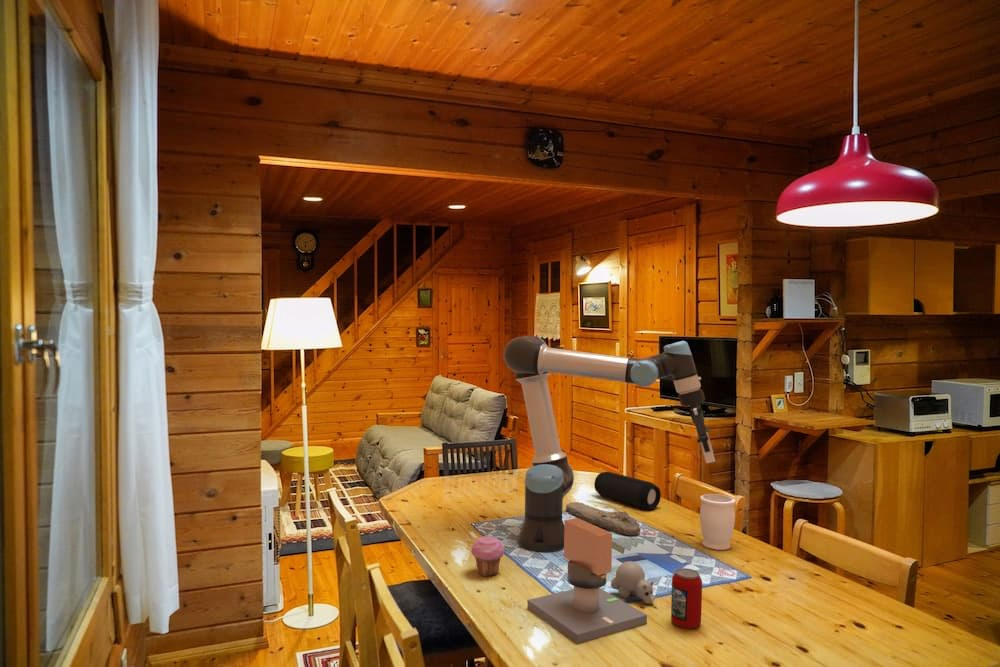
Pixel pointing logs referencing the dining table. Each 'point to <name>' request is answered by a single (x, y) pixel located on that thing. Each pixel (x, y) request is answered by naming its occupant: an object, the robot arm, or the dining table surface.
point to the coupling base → (586, 613)
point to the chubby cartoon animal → (633, 582)
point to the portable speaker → (627, 490)
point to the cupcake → (487, 554)
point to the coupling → (587, 553)
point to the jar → (717, 520)
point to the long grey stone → (605, 518)
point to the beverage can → (686, 598)
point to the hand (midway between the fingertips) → (710, 457)
